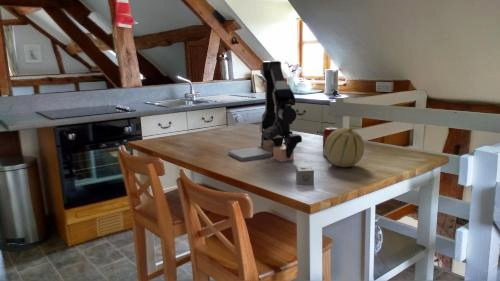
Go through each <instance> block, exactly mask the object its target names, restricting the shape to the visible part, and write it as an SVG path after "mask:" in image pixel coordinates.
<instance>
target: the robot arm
mask: <svg viewBox="0 0 500 281" xmlns="http://www.w3.org/2000/svg"><path fill="white" fill-rule="evenodd" d="M260 72H261V75H262V76H263V78H264V80H265V86H264V89H265V94H264V95H265V96H264V97H265V98H264V99H265V103H264V104H265V105H264V106H265V109H264V110H265V111H264V112H263V113H262V115H261V120H260V124H259V132H260V133H261V135H260V136H261V142H260V145H263V140H271V141H273V143H274V146H275V147H277V146H284V145H285V146H286V153H287V158H290V157H291V155H292V153H293V151H295V149H296V148H297V145H298V144H299V143H302V142H303V137H302V135H300V134H297V133H293V130H292V131H291V125H293V122H294V121H295V120H296V118H297V114H298V113H297V112H296V110H295V109H294V108H292V106H296V100H297V99H296V98H295V93H294V92H293V90H292V88H291V86H290V84H288V83H287V82H286V80H285V78H284V73H283V71H282V62H281V61H280V60H263V62H262V63H261V64H260Z"/></svg>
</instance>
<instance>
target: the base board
mask: <svg viewBox="0 0 500 281" xmlns="http://www.w3.org/2000/svg"><path fill="white" fill-rule="evenodd" d="M227 151H228V152H227V154H228V155H229V156H231V157H233V158H234V159H237V160H239V161H241V162H247V161H252V160H254V161H255V160H260V159H265V158H271V157H273V153H270V152H268V151H265V150H263V149H262V148H260V147H257V146H253V147H246V148H242V149H241V148H239V149H235V150H234V149H232V150H227Z"/></svg>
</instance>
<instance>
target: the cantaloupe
mask: <svg viewBox="0 0 500 281" xmlns="http://www.w3.org/2000/svg"><path fill="white" fill-rule="evenodd" d="M364 143H365V142H364V139H363V138H362V135H361V134H360V133H359V132H357V131H355V129H353V128H352V127H350V128H348V127H342V128H340V127H339V128H338V129H336V130H334V131H333V132H332V133H331V134H330V135H329V136H328V138H327V140H326V142H325V154H326V156H327V157H326V156H325V157H326V158H327V160H328V161H329V162H330V163H332V164H333V165H334V166H336V167H340V168H348V167H349V168H350V167H353V166H355V165H357V164H358V163H359V162H360V161H361V160H362V158H363V156H364V152H365V144H364Z"/></svg>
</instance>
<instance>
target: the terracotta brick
mask: <svg viewBox="0 0 500 281" xmlns="http://www.w3.org/2000/svg"><path fill="white" fill-rule="evenodd" d="M294 151H295V150H294ZM294 151H293V153H292V155H291V157H290V158H287V153H286V146H285V145H284V144H283V145H282V146H277V147H273V153H272V154H273V159H274V160H276V161H278V162H287V160H288V161H293V159H294V157H295V156H294Z"/></svg>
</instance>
